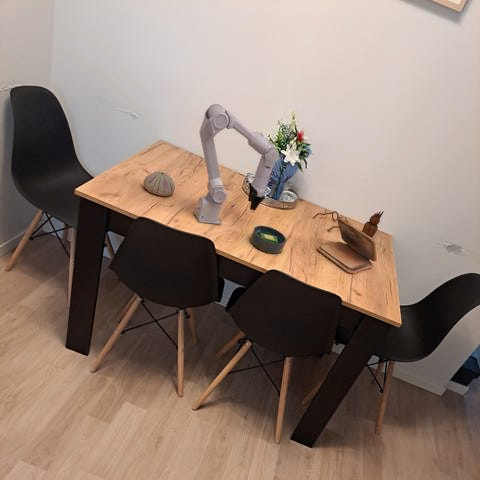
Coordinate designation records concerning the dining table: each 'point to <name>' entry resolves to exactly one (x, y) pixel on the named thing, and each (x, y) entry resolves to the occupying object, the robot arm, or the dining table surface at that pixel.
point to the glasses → (332, 218)
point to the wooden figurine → (372, 225)
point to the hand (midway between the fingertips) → (251, 205)
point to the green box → (269, 237)
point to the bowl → (265, 244)
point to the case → (351, 249)
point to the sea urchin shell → (159, 183)
